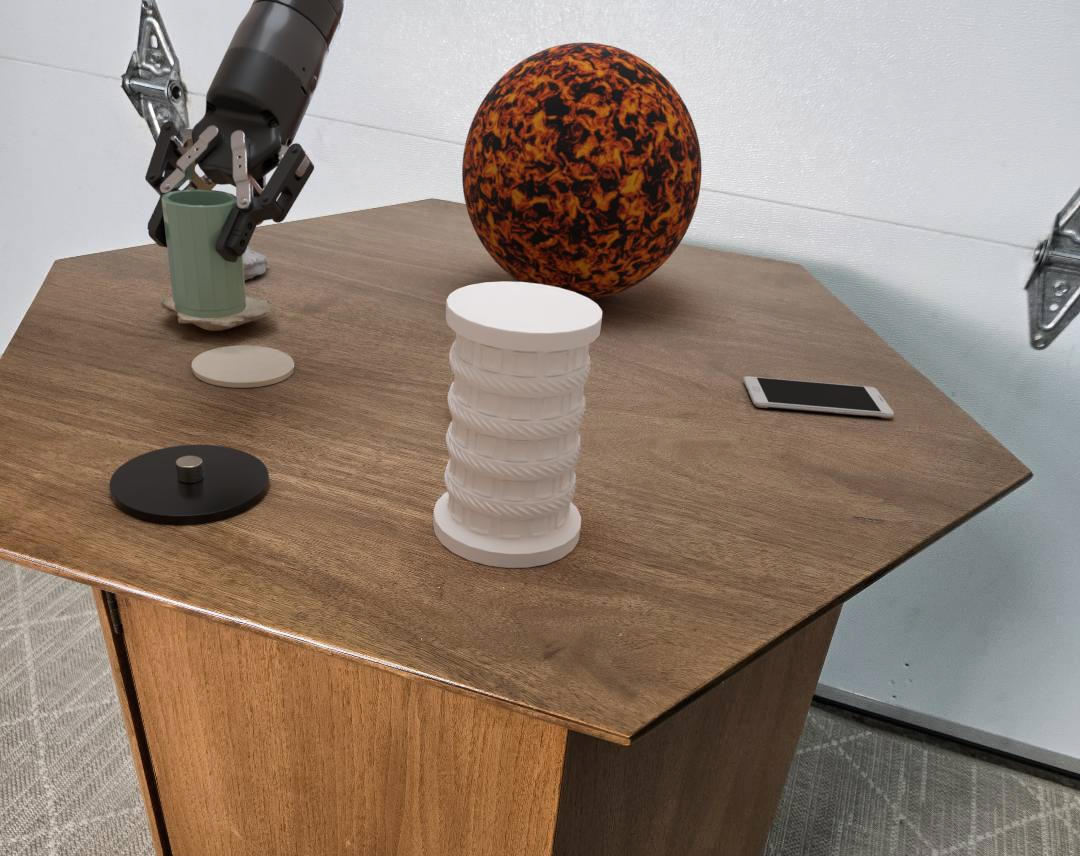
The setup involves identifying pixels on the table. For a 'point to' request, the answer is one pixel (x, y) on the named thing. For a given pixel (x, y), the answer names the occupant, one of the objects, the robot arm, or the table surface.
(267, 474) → the lid
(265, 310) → the seashell
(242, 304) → the pot
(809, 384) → the smartphone
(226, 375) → the coaster
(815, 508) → the table surface
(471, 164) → the ball
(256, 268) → the stone
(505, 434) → the decorative container
